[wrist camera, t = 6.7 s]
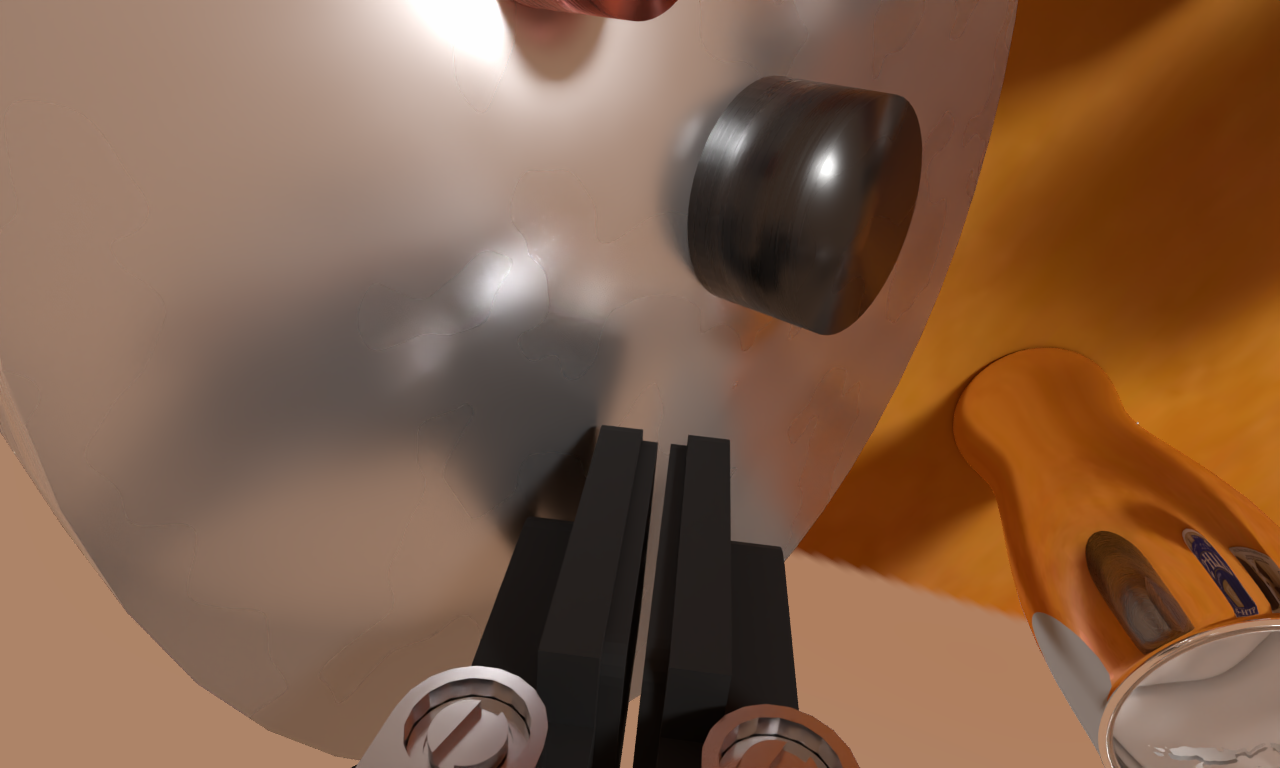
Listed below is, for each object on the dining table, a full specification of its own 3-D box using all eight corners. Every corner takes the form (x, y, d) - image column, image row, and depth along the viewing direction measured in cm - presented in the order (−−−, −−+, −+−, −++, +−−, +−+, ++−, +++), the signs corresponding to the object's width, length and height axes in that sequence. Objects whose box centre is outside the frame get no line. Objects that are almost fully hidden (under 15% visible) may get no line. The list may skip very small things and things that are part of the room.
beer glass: (1034, 517, 34) (1233, 864, 21) (903, 434, 33) (1025, 746, 20) (1167, 396, 31) (1498, 710, 18) (1029, 301, 30) (1273, 561, 17)
